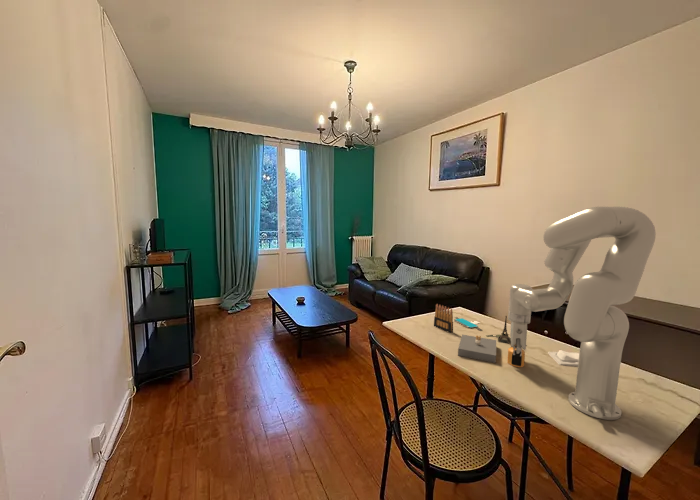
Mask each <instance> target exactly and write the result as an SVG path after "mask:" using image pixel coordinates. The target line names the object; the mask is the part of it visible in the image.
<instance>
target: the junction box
mask: <svg viewBox="0 0 700 500" xmlns="http://www.w3.org/2000/svg"><path fill="white" fill-rule="evenodd" d="M457 356H458V357H463V358H469V359H473V360H480V361H485V362H489V363H494V364H495V363H496V362H497V339H492V338H486V337H481V335H468V334H462V335H461V337H460V341H459V344H458V349H457Z"/></svg>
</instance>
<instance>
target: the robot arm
mask: <svg viewBox="0 0 700 500" xmlns="http://www.w3.org/2000/svg"><path fill="white" fill-rule="evenodd" d="M656 234H657V233H656V228H655V225H654V223H653V221H652V220H651V218H650V217H649V216H648V215H647V214H645V213H643V212H642V211H640V210H638V209H635V208H632V207H626V206H593V207H587V208H585V209H582V210H581V211H578V212H576V213H574V214H571V215H569V216H566V217H563V218H561V219H559V220H557V221H555V222H553V223H551V224H550V225H549V226H547V228H546V229H545V231H544V233H543V241H544V244H545V245H546V246H547V247H548V248H550V250H549V252H548V254H547V255H546V257H545V258H544V261H543V262H544V265H545V267H546V268H547V269H548V270H550V271H551V272H553V277H552V280H551V282H550V283H549V285H548V286H547V287H546V288H537V289H534V288H533V287H532V286H530V285H527V284H524V283H523V284H522V283H515V284H511V286H510V288H509V289H510V290H509V300H508V301H509V302H508V314H507V320H508V322H509V321H510V331H509V332H510V334H509V337H510V338H511V344H510V347H513V354H512V362H511V363H512V365H517V366H521V362H522V350H524V351H526V349H527V346H526V345H527V338H528V337H527V336H528V324H530V323H531V317H532V316H531V315H532V312H535V313H536V312H543V311H544V312H545V311H547V310H549V311H550V310H555V309H559V308H561V306H562V305H563V304H564V303H565V302H566V301H567V299H568V297H569V296H570V297H569V300H568V303H567V306H566V309H565V313H564V316H563V325H564V329H565V331H566V332H567V333H566V334H567V335H569V337H570V338H571V339H573V340H574V341H577V342H580V347H579V352H578V353H579V361H578V367H577V372H576V373H577V374H576V382H575V391H572V392H570V393H569V394H568V402H569V403H570V404H571V405H572V407H574V408H575V409H577V410H578V411H580V412H582V413H584V414H586V415H587V416H590V417H593V418H597V419H600V420H601V419H602V420H606V421H607V420H608V421H616V420H618V419H621V417H622V409H621V407H620V406H618V405H617V404H616V401H617V392H618V386H619V385H618V384H619V376H620V370H621V369H620V368H621V363H622V356H623V349H624V346H625V342H626V339H627V336H628V333H629V329H630V322H629V318H628V316H627V314H626V313H625V312H624V311H623V310H622V309H621V308H619V307H617V306H618V305H623V304H626V303H627V304H628V303H629V302H631V301H632V300H633V299H634V297H635V296H636V293H637V290H638V288H639V284H640V281H641V279H642V277H643V275H644V271H645V267H646V265H647V263H648V260H649V258H650V255H651V252H652V250H653V247H654V246H655V241H656ZM599 238H614V242H613V244H612V245H611V246H610V248H608V250H607V252H606V254H605V258H604V261H603V262H602V263H603V264H602V266H601V268H600V270H599V271H594V272H593V271H592V272H588V273H585V274H583V275H582V276H580V277H579V278H578V279H577V280H576V282H575V283H574V274H573V273H574V270H575V268H576V267H577V265H578V264H579V262H580V260H581V258H582V257H583V255H584V253H585V252H586V250H587V249H588V247H589V246H590V244H591V242H592V240H594V239H599ZM515 349H516V350H515ZM512 365H511V366H512Z"/></svg>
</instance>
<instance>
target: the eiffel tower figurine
mask: <svg viewBox="0 0 700 500" xmlns="http://www.w3.org/2000/svg"><path fill="white" fill-rule="evenodd" d="M507 320H508V315H505V319H504V327H503V329H502V333H501V334H495V335H496V336H493V335H494V334H487V335H485V338H486V337H487V338H497V343H501V344H506V345H511V337H510V335H509V334H508V327H507V323H508V322H507ZM527 346H528V345H527V344H526V347H527Z"/></svg>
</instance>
